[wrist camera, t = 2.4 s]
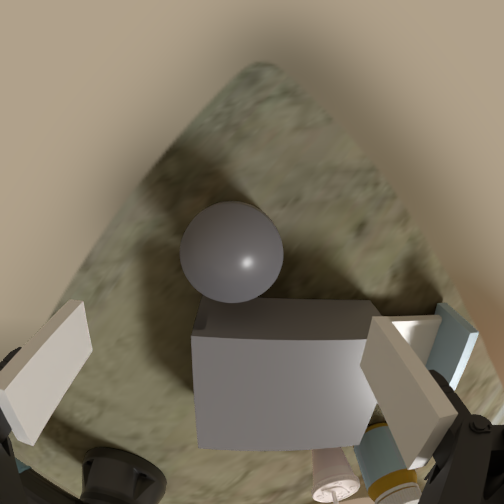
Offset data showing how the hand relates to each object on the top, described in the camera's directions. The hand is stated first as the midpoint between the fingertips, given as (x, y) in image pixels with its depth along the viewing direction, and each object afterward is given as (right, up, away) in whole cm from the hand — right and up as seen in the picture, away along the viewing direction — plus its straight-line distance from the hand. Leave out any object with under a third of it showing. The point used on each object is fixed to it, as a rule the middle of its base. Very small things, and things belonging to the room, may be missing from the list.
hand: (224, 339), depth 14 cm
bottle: (+20, -24, +27) cm, 42 cm away
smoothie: (+12, -24, +27) cm, 38 cm away
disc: (0, +4, +13) cm, 13 cm away
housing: (+5, -8, +22) cm, 24 cm away
